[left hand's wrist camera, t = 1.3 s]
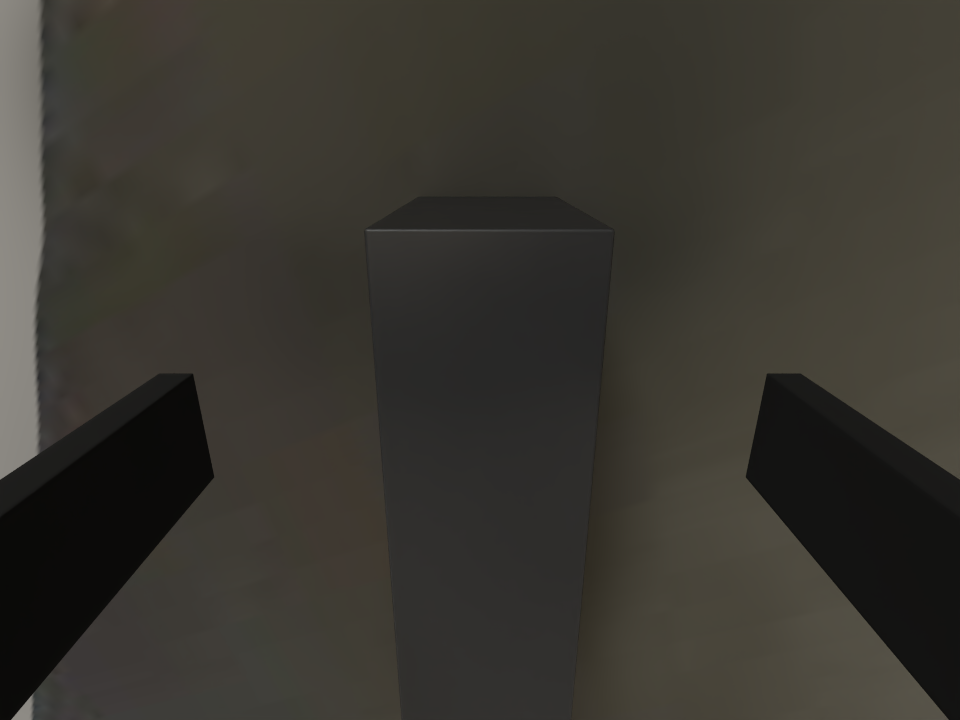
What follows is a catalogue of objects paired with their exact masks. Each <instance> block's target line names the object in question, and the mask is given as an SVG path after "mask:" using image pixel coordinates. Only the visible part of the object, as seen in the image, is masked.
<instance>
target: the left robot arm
mask: <svg viewBox="0 0 960 720" xmlns="http://www.w3.org/2000/svg"><path fill="white" fill-rule="evenodd" d="M213 478H214V474H213V469H212V464H211V459H210V454H209V449H208V444H207V440H206V435H205V430H204V425H203V420H202V415H201V411H200V406H199V401H198V396H197V391H196V386H195V381H194V377H193V374H158V375H157V376H155V377H154V378H152V379H151V380H149V381H148V382H146V383H145V384H143V385H142V386H140V387H139V388H137V389H136V390H134V391H133V392H131V393H130V394H128V395H127V396H125V397H124V398H122V399H121V400H119V401H118V402H116V403H115V404H113V405H112V406H110V407H109V408H107V409H106V410H104V411H103V412H101V413H100V414H98V415H97V416H95V417H94V418H92V419H91V420H89V421H88V422H86V423H85V424H83V425H82V426H80V427H79V428H77V429H76V430H74V431H73V432H71V433H70V434H68V435H67V436H65V437H64V438H62V439H61V440H59V441H58V442H56V443H55V444H53V445H52V446H50V447H49V448H47V449H46V450H44V451H43V452H41V453H40V454H38V455H37V456H35V457H34V458H32V459H31V460H29V461H28V462H26V463H25V464H23V465H22V466H20V467H19V468H17V469H16V470H14V471H13V472H11V473H10V474H8V475H7V476H5V477H4V478H2V479H1V480H0V720H11V719H12V718H13V717H14V716H15V714H16V713H17V712H18V711H19V710H20V708H21V707H22V706H23V705H24V704H25V702H26V701H27V700H28V699H29V698H30V696H31V695H32V694H33V693H34V692H35V691H36V689H37V688H38V687H39V686H40V685H41V683H42V682H43V681H44V680H45V679H46V677H47V676H48V675H49V674H50V673H51V671H52V670H53V669H54V668H55V667H56V665H57V664H58V663H59V662H60V661H61V659H62V658H63V657H64V656H65V655H66V654H67V652H68V651H69V650H70V649H71V648H72V646H73V645H74V644H75V643H76V642H77V640H78V639H79V638H80V637H81V636H82V634H83V633H84V632H85V631H86V630H87V628H88V627H89V626H90V625H91V624H92V622H93V621H94V620H95V619H96V618H97V616H98V615H99V614H100V613H101V612H102V611H103V609H104V608H105V607H106V606H107V605H108V603H109V602H110V601H111V600H112V599H113V597H114V596H115V595H116V594H117V593H118V591H119V590H120V589H121V588H122V587H123V585H124V584H125V583H126V582H127V581H128V579H129V578H130V577H131V576H132V575H133V574H134V572H135V571H136V570H137V569H138V568H139V566H140V565H141V564H142V563H143V562H144V560H145V559H146V558H147V557H148V556H149V554H150V553H151V552H152V551H153V550H154V548H155V547H156V546H157V545H158V544H159V542H160V541H161V540H162V539H163V538H164V536H165V535H166V534H167V533H168V532H169V531H170V529H171V528H172V527H173V526H174V525H175V523H176V522H177V521H178V520H179V519H180V517H181V516H182V515H183V514H184V513H185V511H186V510H187V509H188V508H189V507H190V505H191V504H192V503H193V502H194V501H195V499H196V498H197V497H198V496H199V495H200V494H201V492H202V491H203V490H204V489H205V488H206V486H207V485H208V484H209V483H210V482H211V480H212V479H213ZM746 478H747V479H748V480H749V482H750V483H751V484H752V485H753V486H754V488H755V489H756V490H757V491H758V492H759V494H760V495H761V496H762V497H763V498H764V499H765V501H766V502H767V503H768V504H769V505H770V507H771V508H772V509H773V510H774V511H775V513H776V514H777V515H778V516H779V517H780V519H781V520H782V521H783V522H784V523H785V525H786V526H787V527H788V528H789V529H790V531H791V532H792V533H793V534H794V535H795V536H796V538H797V539H798V540H799V541H800V542H801V544H802V545H803V546H804V547H805V548H806V550H807V551H808V552H809V553H810V554H811V556H812V557H813V558H814V559H815V560H816V562H817V563H818V564H819V565H820V566H821V568H822V569H823V570H824V571H825V572H826V574H827V575H828V576H829V577H830V578H831V579H832V581H833V582H834V583H835V584H836V585H837V587H838V588H839V589H840V590H841V591H842V593H843V594H844V595H845V596H846V597H847V599H848V600H849V601H850V602H851V603H852V605H853V606H854V607H855V608H856V609H857V611H858V612H859V613H860V614H861V615H862V616H863V618H864V619H865V620H866V621H867V622H868V624H869V625H870V626H871V627H872V628H873V630H874V631H875V632H876V633H877V634H878V636H879V637H880V638H881V639H882V640H883V642H884V643H885V644H886V645H887V646H888V648H889V649H890V650H891V651H892V652H893V654H894V655H895V656H896V657H897V658H898V659H899V661H900V662H901V663H902V664H903V665H904V667H905V668H906V669H907V670H908V671H909V673H910V674H911V675H912V676H913V677H914V679H915V680H916V681H917V682H918V683H919V685H920V686H921V687H922V688H923V689H924V691H925V692H926V693H927V694H928V695H929V697H930V698H931V699H932V700H933V701H934V702H935V704H936V705H937V706H938V707H939V708H940V710H941V711H942V712H943V713H944V714H945V716H946V717H947V718H948V719H949V720H960V480H959V479H958V478H956V477H955V476H953V475H952V474H950V473H949V472H947V471H946V470H944V469H943V468H941V467H940V466H938V465H937V464H935V463H934V462H932V461H931V460H929V459H928V458H926V457H925V456H923V455H922V454H920V453H919V452H917V451H916V450H914V449H913V448H911V447H910V446H908V445H907V444H905V443H904V442H902V441H901V440H899V439H898V438H896V437H895V436H893V435H892V434H890V433H889V432H887V431H886V430H884V429H883V428H881V427H880V426H878V425H877V424H875V423H874V422H872V421H871V420H869V419H868V418H866V417H865V416H863V415H862V414H860V413H859V412H857V411H856V410H854V409H853V408H851V407H850V406H848V405H847V404H845V403H844V402H842V401H841V400H839V399H838V398H836V397H835V396H833V395H832V394H830V393H829V392H827V391H826V390H824V389H823V388H821V387H820V386H818V385H817V384H815V383H814V382H812V381H811V380H809V379H808V378H806V377H805V376H803V375H802V374H767V377H766V381H765V386H764V391H763V396H762V401H761V406H760V411H759V415H758V420H757V425H756V430H755V435H754V440H753V444H752V449H751V454H750V459H749V464H748V469H747V474H746Z"/></svg>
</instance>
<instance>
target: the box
mask: <svg viewBox="0 0 960 720" xmlns="http://www.w3.org/2000/svg"><path fill="white" fill-rule="evenodd" d="M364 233H365V246H366V259H367V272H368V285H369V298H370V311H371V325H372V338H373V351H374V364H375V377H376V390H377V403H378V416H379V429H380V442H381V455H382V468H383V481H384V495H385V508H386V521H387V534H388V547H389V560H390V573H391V586H392V599H393V612H394V625H395V638H396V651H397V665H398V678H399V691H400V704H401V717H402V720H571V715H572V704H573V692H574V681H575V670H576V659H577V647H578V636H579V625H580V614H581V602H582V591H583V580H584V569H585V557H586V546H587V535H588V524H589V513H590V501H591V490H592V479H593V468H594V456H595V445H596V434H597V423H598V411H599V400H600V389H601V378H602V366H603V355H604V344H605V333H606V321H607V310H608V299H609V288H610V276H611V265H612V254H613V243H614V229H612V228H610V227H608V226H607V225H605V224H603V223H601V222H600V221H598V220H596V219H594V218H593V217H591V216H589V215H587V214H586V213H584V212H582V211H580V210H578V209H577V208H575V207H573V206H571V205H570V204H568V203H566V202H564V201H563V200H561V199H559V198H557V197H417V198H416V199H414V200H413V201H411V202H409V203H408V204H406V205H404V206H403V207H401V208H399V209H398V210H396V211H394V212H393V213H391V214H389V215H388V216H386V217H385V218H383V219H381V220H380V221H378V222H376V223H375V224H373V225H371V226H370V227H368V228H366V229H365V231H364Z"/></svg>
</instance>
